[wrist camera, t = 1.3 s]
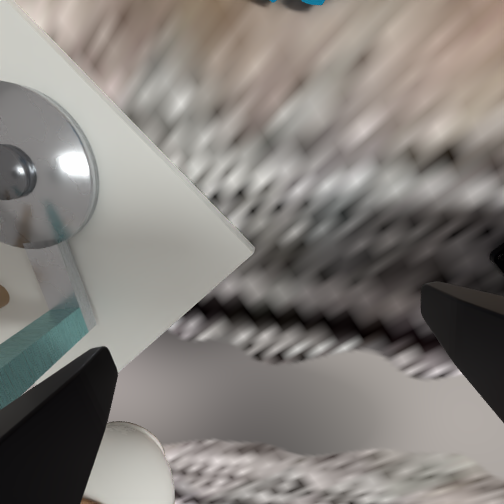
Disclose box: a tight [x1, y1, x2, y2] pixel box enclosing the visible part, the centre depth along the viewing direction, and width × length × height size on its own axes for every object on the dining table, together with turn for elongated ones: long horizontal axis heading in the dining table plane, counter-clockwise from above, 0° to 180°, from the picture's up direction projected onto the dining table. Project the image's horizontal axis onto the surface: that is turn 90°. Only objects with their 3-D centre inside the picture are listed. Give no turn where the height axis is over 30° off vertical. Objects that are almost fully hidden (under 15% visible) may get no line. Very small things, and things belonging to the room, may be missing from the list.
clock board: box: [0, 0, 255, 385], centre depth 20 cm, size 22×22×7 cm
